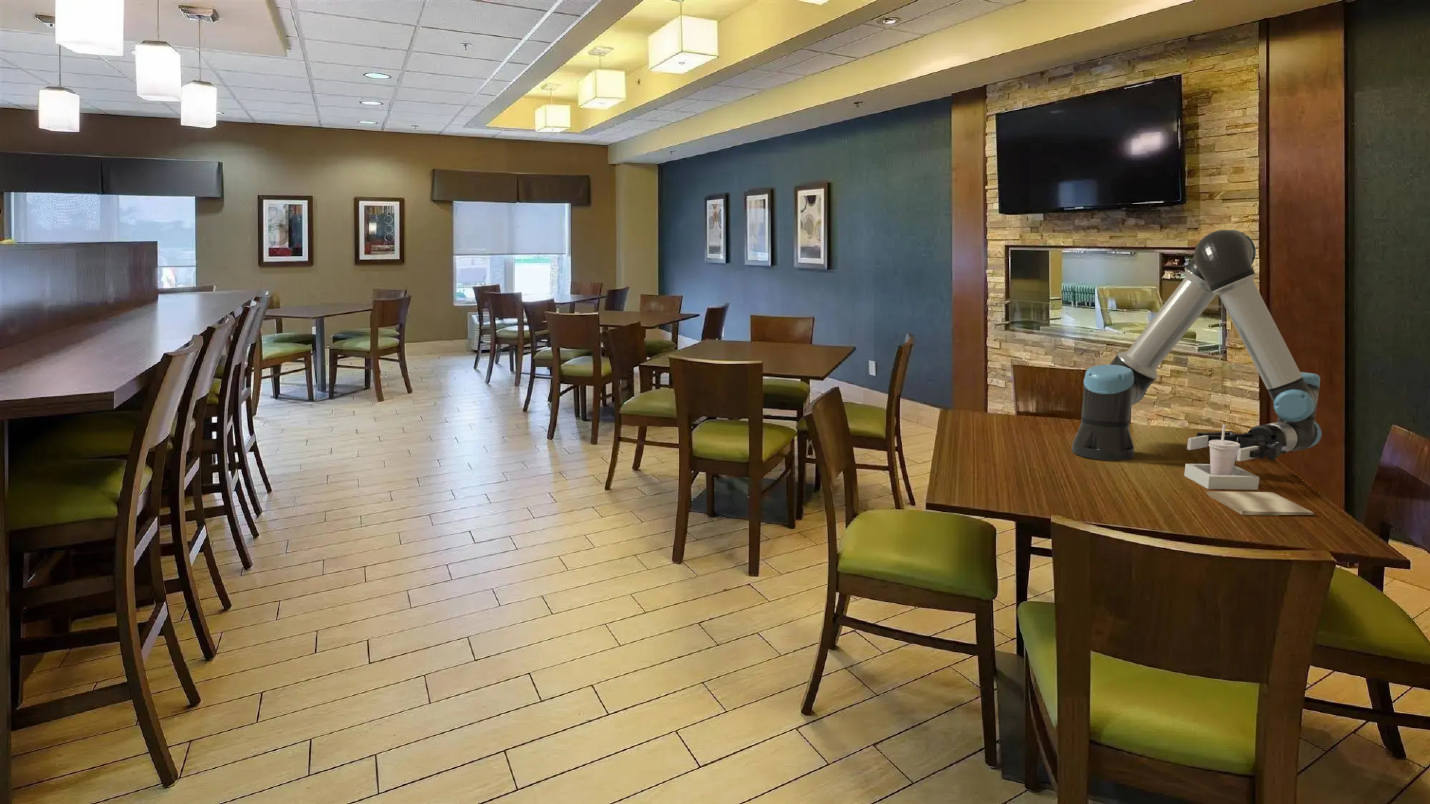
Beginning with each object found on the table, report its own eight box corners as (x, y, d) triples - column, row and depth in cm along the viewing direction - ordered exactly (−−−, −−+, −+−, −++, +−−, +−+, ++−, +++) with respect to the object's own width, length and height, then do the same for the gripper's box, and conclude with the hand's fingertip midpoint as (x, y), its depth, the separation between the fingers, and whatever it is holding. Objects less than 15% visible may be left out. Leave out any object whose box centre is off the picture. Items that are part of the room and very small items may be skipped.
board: (1242, 514, 169) (1242, 511, 168) (1206, 494, 182) (1207, 491, 182) (1312, 516, 168) (1313, 512, 167) (1271, 495, 181) (1272, 492, 181)
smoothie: (1198, 479, 194) (1204, 422, 192) (1223, 478, 195) (1229, 421, 192) (1216, 486, 188) (1223, 428, 186) (1242, 486, 189) (1249, 427, 186)
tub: (1207, 488, 187) (1209, 476, 186) (1184, 475, 197) (1185, 463, 197) (1257, 489, 186) (1259, 477, 185) (1231, 476, 197) (1232, 464, 196)
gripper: (1321, 465, 188) (1263, 477, 179) (1221, 444, 209) (1164, 453, 199) (1325, 434, 187) (1267, 444, 177) (1224, 415, 207) (1167, 424, 198)
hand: (1213, 449), depth 188 cm, fingers open, 11 cm apart
